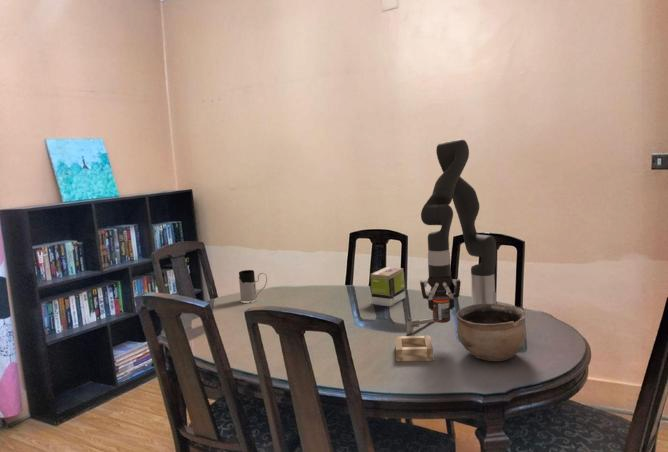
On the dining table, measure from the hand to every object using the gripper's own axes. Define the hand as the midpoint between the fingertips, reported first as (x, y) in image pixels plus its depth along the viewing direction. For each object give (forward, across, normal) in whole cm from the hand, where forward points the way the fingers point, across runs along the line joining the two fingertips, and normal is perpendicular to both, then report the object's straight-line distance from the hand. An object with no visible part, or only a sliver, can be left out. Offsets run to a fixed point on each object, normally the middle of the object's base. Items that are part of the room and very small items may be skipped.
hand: (441, 309), depth 169 cm
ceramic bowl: (+14, -14, +9) cm, 22 cm away
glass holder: (+14, +85, -64) cm, 107 cm away
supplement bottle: (+4, 0, 0) cm, 4 cm away
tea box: (+14, +18, -56) cm, 60 cm away
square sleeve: (+13, +10, +6) cm, 18 cm away
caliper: (+14, +5, -20) cm, 25 cm away
